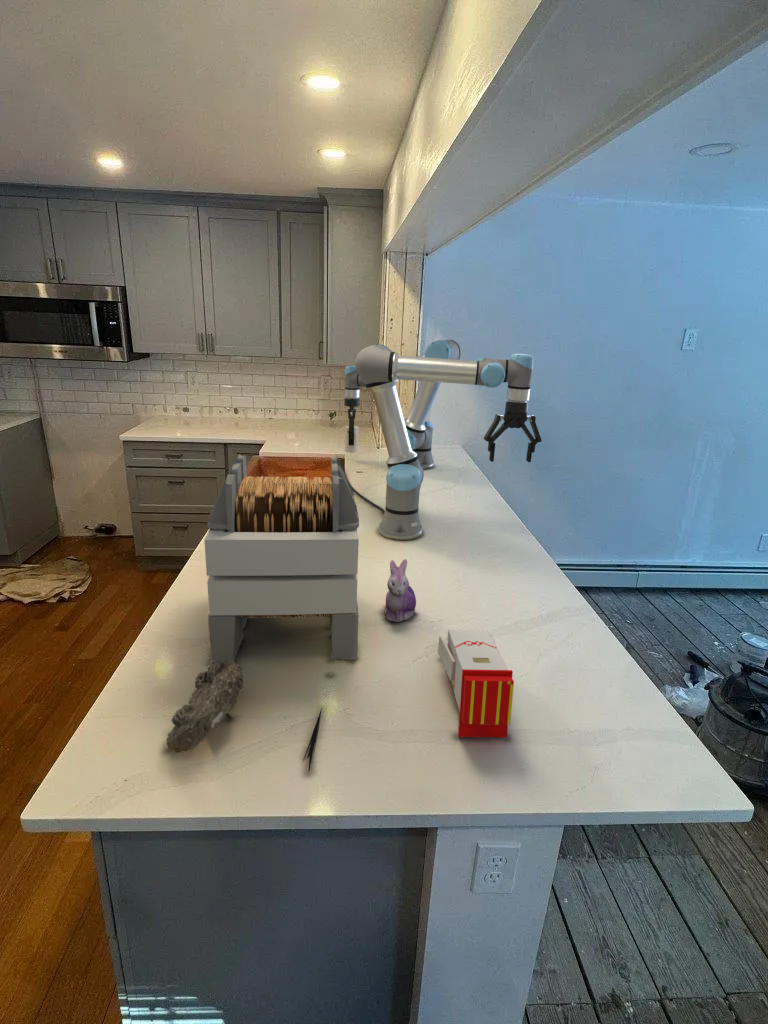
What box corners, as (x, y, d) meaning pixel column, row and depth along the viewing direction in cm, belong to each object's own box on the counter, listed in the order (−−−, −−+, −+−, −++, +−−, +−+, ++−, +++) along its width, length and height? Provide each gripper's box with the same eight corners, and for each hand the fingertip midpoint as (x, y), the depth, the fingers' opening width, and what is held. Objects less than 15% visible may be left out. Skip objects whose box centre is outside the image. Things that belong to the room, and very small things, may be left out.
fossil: (192, 660, 117) (244, 628, 112) (224, 691, 120) (276, 661, 115) (142, 746, 98) (202, 712, 93) (182, 779, 101) (242, 748, 96)
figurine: (392, 627, 141) (395, 572, 136) (374, 608, 149) (376, 556, 144) (425, 619, 145) (429, 566, 140) (405, 601, 154) (408, 550, 149)
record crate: (230, 591, 155) (223, 445, 141) (350, 589, 159) (354, 447, 145) (208, 664, 123) (195, 486, 109) (358, 660, 127) (363, 487, 113)
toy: (488, 613, 130) (523, 677, 101) (484, 667, 133) (517, 744, 104) (435, 612, 130) (455, 676, 101) (432, 666, 133) (451, 743, 103)
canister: (359, 450, 291) (360, 425, 287) (354, 453, 285) (355, 428, 281) (347, 449, 293) (347, 424, 289) (342, 451, 287) (342, 427, 283)
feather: (331, 679, 122) (336, 673, 122) (307, 777, 96) (313, 769, 95) (324, 675, 122) (329, 669, 121) (298, 772, 95) (304, 764, 95)
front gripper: (548, 400, 199) (539, 458, 206) (478, 398, 196) (473, 457, 203) (556, 403, 192) (547, 464, 199) (484, 401, 189) (478, 463, 196)
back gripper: (345, 394, 289) (344, 439, 297) (343, 400, 271) (343, 447, 279) (359, 395, 290) (359, 439, 297) (359, 401, 271) (358, 448, 279)
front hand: (509, 461), depth 201 cm, fingers open, 13 cm apart
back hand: (351, 443), depth 288 cm, fingers closed on canister, 7 cm apart
